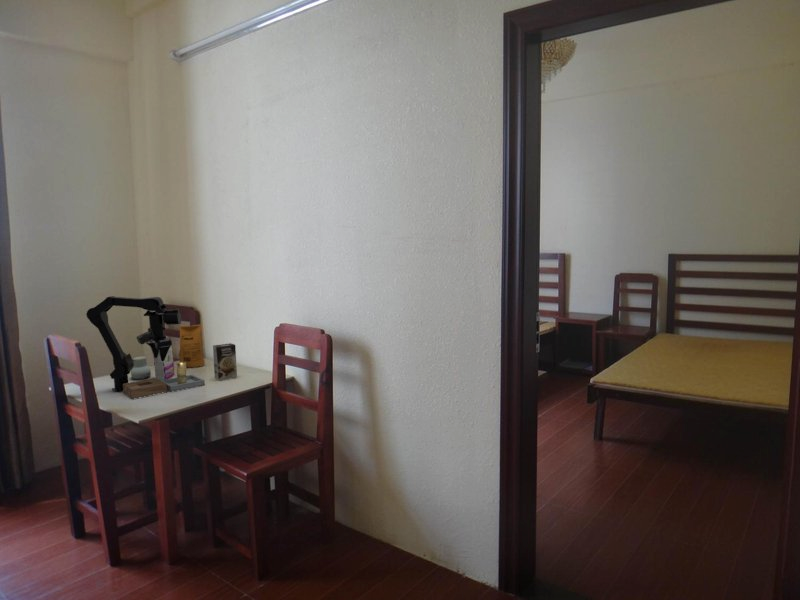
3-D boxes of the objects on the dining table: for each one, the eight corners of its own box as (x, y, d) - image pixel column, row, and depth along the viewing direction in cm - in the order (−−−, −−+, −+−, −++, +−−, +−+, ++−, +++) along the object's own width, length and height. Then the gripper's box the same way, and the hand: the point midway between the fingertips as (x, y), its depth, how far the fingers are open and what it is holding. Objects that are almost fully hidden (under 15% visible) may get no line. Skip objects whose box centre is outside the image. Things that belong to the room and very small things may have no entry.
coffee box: (218, 381, 259) (216, 347, 257) (214, 378, 264) (212, 345, 262) (237, 377, 264) (235, 344, 262) (233, 375, 269) (231, 342, 267)
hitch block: (123, 392, 243) (122, 383, 242) (156, 386, 252) (155, 377, 252) (133, 399, 233) (132, 390, 232) (167, 392, 242) (166, 383, 241)
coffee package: (181, 364, 294) (178, 324, 291) (205, 363, 296) (203, 322, 293) (178, 369, 284) (174, 327, 281) (203, 367, 287) (200, 325, 284)
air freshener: (151, 379, 266) (149, 358, 265) (132, 381, 262) (130, 361, 261) (149, 374, 275) (147, 354, 274) (131, 376, 271) (129, 356, 270)
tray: (160, 386, 252) (160, 380, 252) (192, 379, 262) (192, 374, 262) (171, 392, 242) (170, 386, 242) (204, 385, 252) (204, 379, 252)
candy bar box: (164, 375, 272) (162, 342, 270) (174, 375, 272) (172, 342, 270) (154, 381, 261) (152, 347, 259) (165, 381, 261) (162, 347, 259)
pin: (176, 384, 252) (174, 362, 251) (185, 382, 255) (183, 361, 254) (179, 385, 249) (178, 364, 248) (188, 384, 252) (187, 362, 251)
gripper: (131, 325, 248) (134, 359, 250) (144, 330, 234) (147, 366, 236) (156, 322, 255) (159, 355, 257) (171, 326, 241) (173, 361, 243)
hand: (159, 359), depth 248 cm, fingers open, 9 cm apart
